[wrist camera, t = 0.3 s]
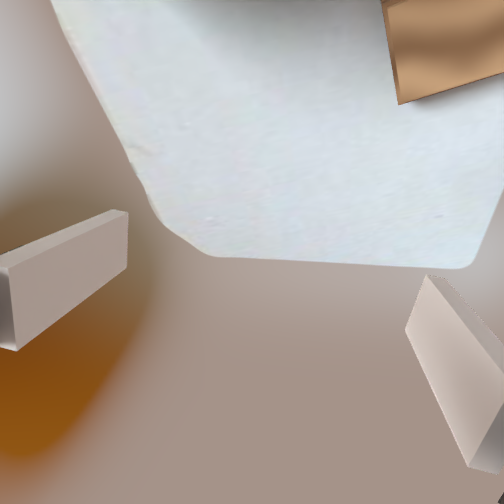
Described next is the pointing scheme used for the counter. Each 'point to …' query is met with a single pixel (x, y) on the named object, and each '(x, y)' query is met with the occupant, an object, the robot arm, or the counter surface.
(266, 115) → the counter surface
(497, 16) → the walnut base
